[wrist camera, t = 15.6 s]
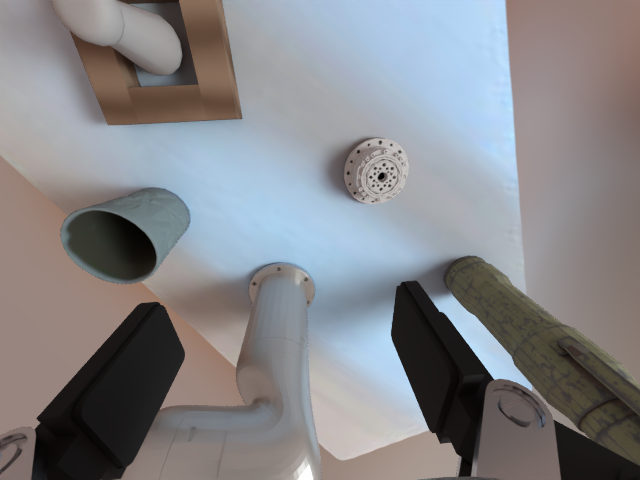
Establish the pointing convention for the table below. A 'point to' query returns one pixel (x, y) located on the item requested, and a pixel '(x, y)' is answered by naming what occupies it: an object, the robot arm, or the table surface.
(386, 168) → the mechanical component
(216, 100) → the holder board
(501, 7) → the table surface
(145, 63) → the salt shaker
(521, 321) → the green textured column
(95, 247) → the green embossed cup
